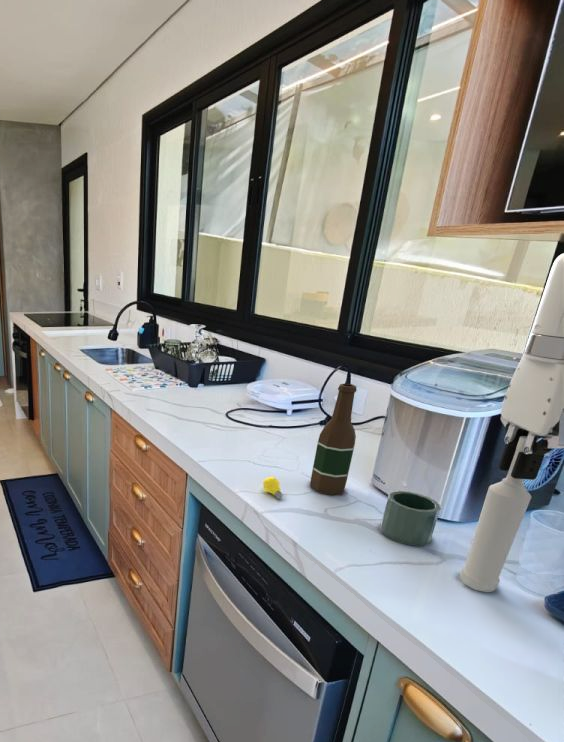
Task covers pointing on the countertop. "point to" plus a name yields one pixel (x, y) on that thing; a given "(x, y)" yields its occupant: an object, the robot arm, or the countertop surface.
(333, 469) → the beer bottle
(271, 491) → the light bulb
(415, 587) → the countertop surface
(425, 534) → the holder
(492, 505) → the bottle
